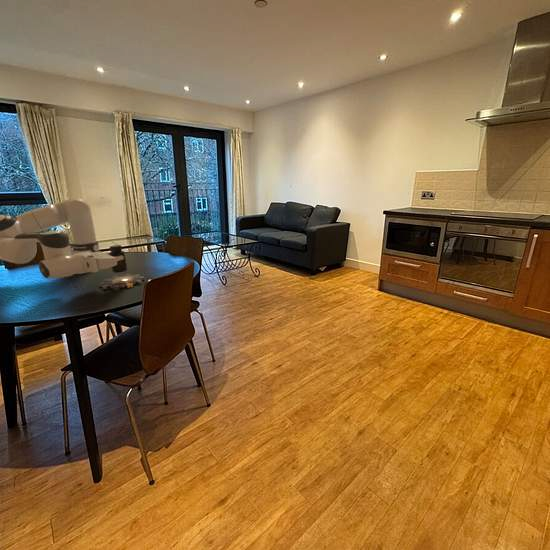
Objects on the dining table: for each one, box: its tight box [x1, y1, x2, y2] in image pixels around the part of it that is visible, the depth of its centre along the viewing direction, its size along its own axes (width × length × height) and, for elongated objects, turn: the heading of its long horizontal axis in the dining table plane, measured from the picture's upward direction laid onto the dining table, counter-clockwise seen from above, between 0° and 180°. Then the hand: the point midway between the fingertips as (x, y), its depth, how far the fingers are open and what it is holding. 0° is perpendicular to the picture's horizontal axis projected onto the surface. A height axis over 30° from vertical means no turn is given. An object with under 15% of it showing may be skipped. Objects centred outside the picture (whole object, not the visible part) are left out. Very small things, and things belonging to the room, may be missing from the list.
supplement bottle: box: [108, 244, 129, 274], centre depth 139 cm, size 7×7×12 cm
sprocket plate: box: [99, 273, 145, 291], centre depth 143 cm, size 19×19×2 cm
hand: (119, 255), depth 140 cm, fingers closed on supplement bottle, 7 cm apart
